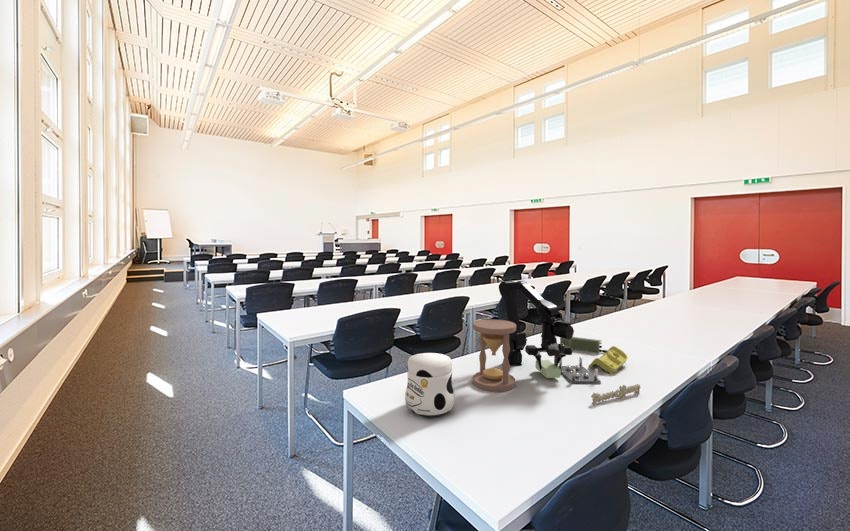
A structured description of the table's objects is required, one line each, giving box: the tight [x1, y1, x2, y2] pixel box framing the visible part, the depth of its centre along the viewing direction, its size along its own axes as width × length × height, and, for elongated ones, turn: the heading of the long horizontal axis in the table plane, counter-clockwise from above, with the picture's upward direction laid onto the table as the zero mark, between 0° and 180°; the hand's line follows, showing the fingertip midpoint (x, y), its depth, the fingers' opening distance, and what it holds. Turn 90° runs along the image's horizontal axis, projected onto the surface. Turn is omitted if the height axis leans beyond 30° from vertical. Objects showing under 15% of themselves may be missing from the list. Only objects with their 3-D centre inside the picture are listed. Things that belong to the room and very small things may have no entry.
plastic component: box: [588, 345, 628, 374], centre depth 177 cm, size 20×7×10 cm
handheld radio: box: [559, 336, 609, 354], centre depth 201 cm, size 7×3×25 cm
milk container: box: [404, 352, 455, 418], centre depth 133 cm, size 17×17×18 cm
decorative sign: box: [590, 383, 641, 405], centre depth 142 cm, size 24×1×5 cm, turn 113°
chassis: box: [557, 356, 602, 385], centre depth 165 cm, size 12×18×6 cm, turn 0°
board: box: [535, 359, 562, 379], centre depth 165 cm, size 6×12×4 cm, turn 6°
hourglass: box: [471, 318, 516, 393], centre depth 156 cm, size 18×18×25 cm
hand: (547, 369), depth 165 cm, fingers closed on board, 6 cm apart
